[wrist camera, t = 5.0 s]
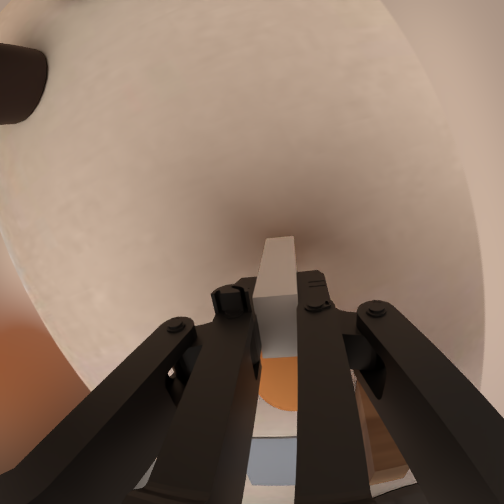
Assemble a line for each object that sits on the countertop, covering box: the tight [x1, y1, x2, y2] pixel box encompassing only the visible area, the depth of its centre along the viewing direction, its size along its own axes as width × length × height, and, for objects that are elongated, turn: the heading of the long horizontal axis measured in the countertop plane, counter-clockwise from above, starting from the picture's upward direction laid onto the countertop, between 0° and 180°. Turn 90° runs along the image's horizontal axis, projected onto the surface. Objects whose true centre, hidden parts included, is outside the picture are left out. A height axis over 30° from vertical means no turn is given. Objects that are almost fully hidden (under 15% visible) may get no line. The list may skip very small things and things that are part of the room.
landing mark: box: [247, 437, 297, 486], centre depth 26 cm, size 14×14×1 cm
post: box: [355, 379, 409, 485], centre depth 17 cm, size 3×3×9 cm
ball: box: [259, 351, 298, 411], centre depth 17 cm, size 6×6×6 cm
